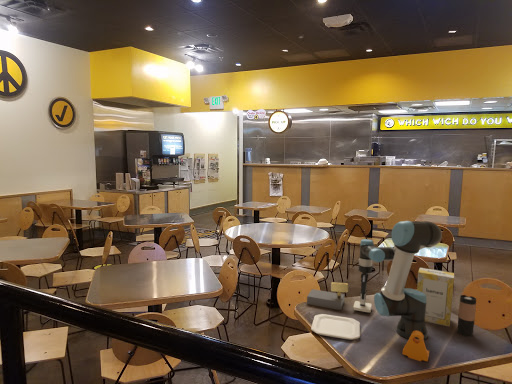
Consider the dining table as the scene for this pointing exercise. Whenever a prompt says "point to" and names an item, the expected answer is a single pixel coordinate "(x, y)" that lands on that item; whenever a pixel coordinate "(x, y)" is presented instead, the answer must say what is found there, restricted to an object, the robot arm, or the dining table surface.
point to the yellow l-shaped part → (339, 288)
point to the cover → (362, 306)
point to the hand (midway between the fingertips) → (362, 302)
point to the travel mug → (466, 315)
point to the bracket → (416, 347)
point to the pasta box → (437, 294)
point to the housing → (325, 299)
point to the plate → (336, 326)
